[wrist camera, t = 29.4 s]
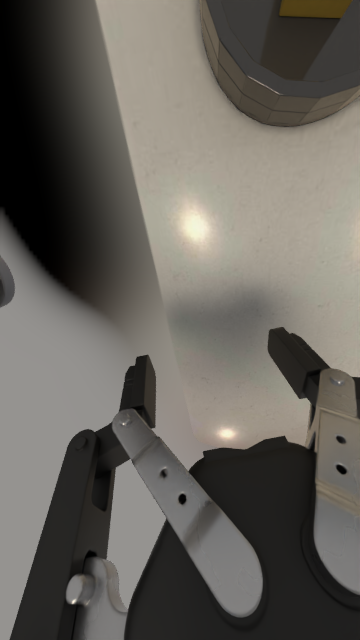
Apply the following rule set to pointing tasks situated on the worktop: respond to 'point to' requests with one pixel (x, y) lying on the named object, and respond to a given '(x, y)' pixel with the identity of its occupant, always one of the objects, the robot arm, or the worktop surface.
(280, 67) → the pan
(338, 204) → the worktop surface
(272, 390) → the worktop surface
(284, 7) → the cheese
